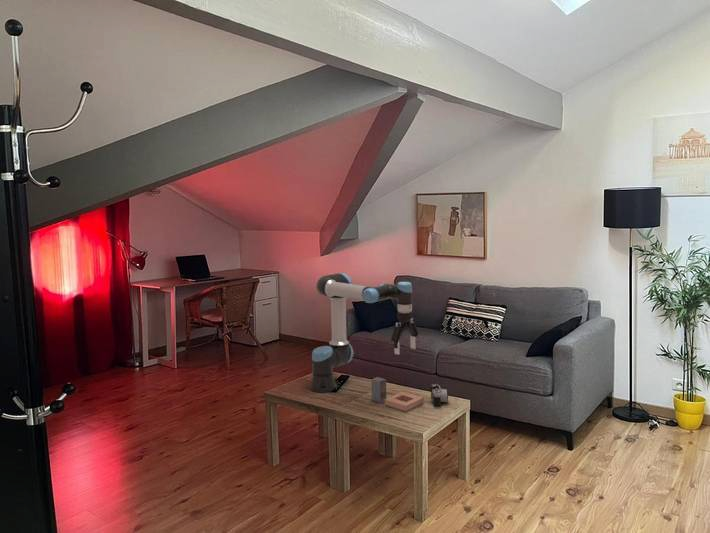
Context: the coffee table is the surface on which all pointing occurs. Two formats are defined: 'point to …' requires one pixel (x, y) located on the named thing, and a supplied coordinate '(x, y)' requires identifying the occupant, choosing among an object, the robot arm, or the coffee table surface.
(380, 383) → the grey wood-topped pillar
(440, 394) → the camera
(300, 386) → the coffee table surface
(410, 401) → the pink square frame
